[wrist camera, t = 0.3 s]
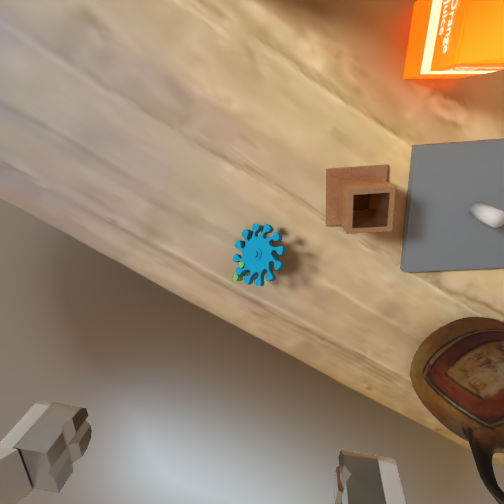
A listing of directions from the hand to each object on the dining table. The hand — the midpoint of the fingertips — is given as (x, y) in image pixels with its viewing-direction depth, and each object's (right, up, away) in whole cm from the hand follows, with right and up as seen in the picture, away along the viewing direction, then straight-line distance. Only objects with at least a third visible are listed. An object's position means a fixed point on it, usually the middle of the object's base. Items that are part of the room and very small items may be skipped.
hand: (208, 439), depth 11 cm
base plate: (+36, +13, +42) cm, 56 cm away
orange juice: (+26, +34, +34) cm, 55 cm away
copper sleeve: (+18, +15, +42) cm, 48 cm away
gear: (+2, +7, +47) cm, 47 cm away
